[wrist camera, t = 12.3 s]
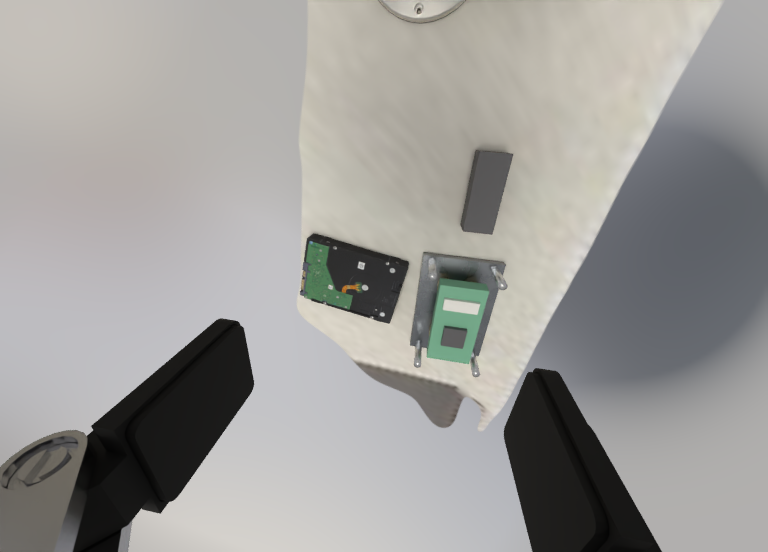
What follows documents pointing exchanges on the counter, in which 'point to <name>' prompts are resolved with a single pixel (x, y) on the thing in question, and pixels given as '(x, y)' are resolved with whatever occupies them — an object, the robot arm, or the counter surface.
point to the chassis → (455, 270)
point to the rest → (485, 191)
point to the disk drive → (352, 278)
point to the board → (456, 320)
